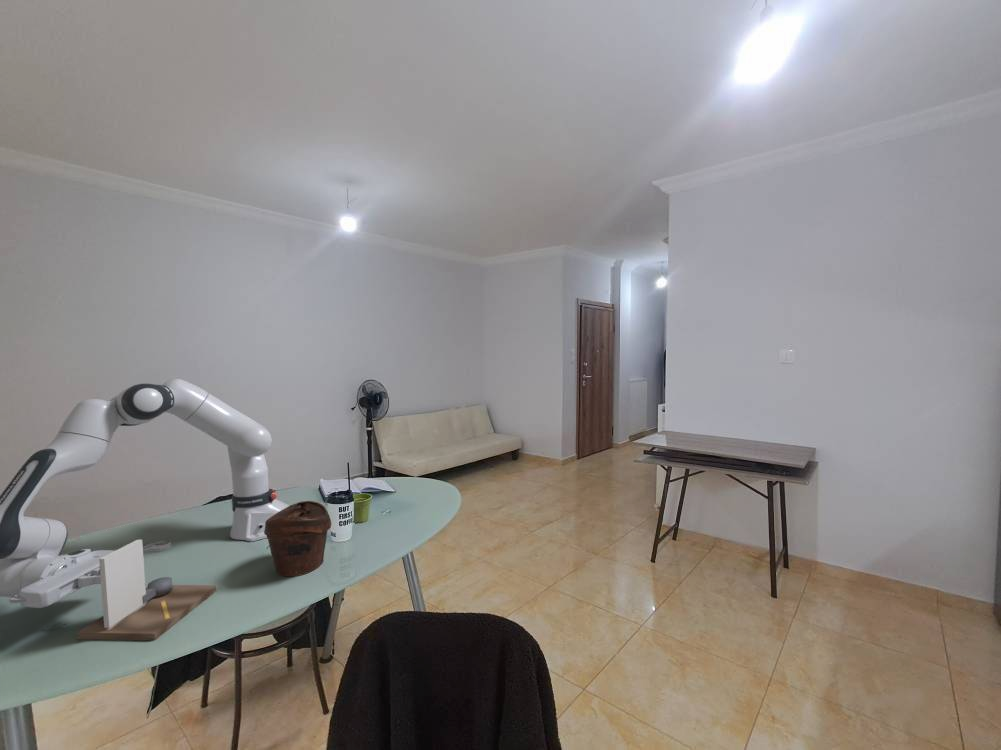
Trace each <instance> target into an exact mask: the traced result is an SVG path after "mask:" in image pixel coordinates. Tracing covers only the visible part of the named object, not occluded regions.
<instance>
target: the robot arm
mask: <svg viewBox="0 0 1001 750" xmlns="http://www.w3.org/2000/svg"><path fill="white" fill-rule="evenodd" d="M164 413H168V414H171V415H174V416H176V417H177V418H179V419H180V420H182V421H184V422H186V423H187V424H189V425H191V426H192V427H194V428H196V429H197V430H199V431H201V432H203V433H204V434H206V435H208V436H210V437H211V438H213V439H215V441H216V440H217V441H218V442H220V443H222V444H223V445H225V446H226V447H227V453H228V458H229V459H228V460H229V465H230V468H231V469H230V470H231V481H232V494H231V500H230V501H231V510H232V512H233V513H232V514H233V515H232V524H231V528H230V533H229V537H230V538H231V539H233V540H239V541H240V540H242V541H246V542H255V541H259V540H264V539H267V535H265V534H264V531H265V523H266V520H268V519H269V518H270V517H272V516H273V515H275V514H276V513H278V512H279V511H281V510H283V509H285V508H287V507H289V506H290V504H287V503H286V502H283V501H282V500H279V498H278V494H277V492H276V490H275V489H274V488H269V487H270V485H269V484H270V483H269V481H270V480H269V468H268V467H269V466H268V464H267V461H266V456H265V453H267V452H268V451H269V450H270V448H271V446H272V444H273V442H272V440H273V439H272V435H271V433H270V431H269V430H268V429H267V428H266V427H265V426H264V425H262V424H261V423H259V422H257V421H255V420H254V419H252V418H250V417H248V416H247V415H246V414H244V413H242V412H241V411H239V410H237V409H236V408H234V407H232V406H230V405H229V404H227V403H225V402H224V401H222V400H221V399H219V398H218V397H216V396H215V395H213V394H212V393H210V392H208V391H206V390H205V389H203V388H201V387H199V386H198V385H195V384H194V383H191V382H189V381H186V380H185V379H181V378H173V379H169V380H167V381H166V382H164V383H163V384H155V383H154V384H153V383H139V384H135V385H132V386H130V387H128V388H126V389H123V390H122V391H120V392H119V394H117V395H116V396H114V397H113V398H112V399H110V400H105V399H100V398H87V399H83V400H81V401H80V402H78V403H76V405H75V407H73V409H72V410H71V411H70V413H69V414H68V415H67V416H66V418H65V420H64V421H63V423H62V425H61V426H60V429H59V431H58V432H57V433H56V436H55V437H54V439H53V440H52V441H51V443H50V444H48V445H47V446H46V447H45V448H43V449H40V450H38V451H36V452H34V453H33V454H32V455H31V456H29V458H28V459H27V460H26V461H25V462H24V464H23V465H22V466H21V467H20V468H19V470H18V471H17V472H16V474H15V475H14V477H13V478H12V479H11V480H10V481H9V484H7V486H6V487H5V489H4V490H3V491H2V493H1V494H0V597H1V598H2V597H4V598H9V600H8V601H9V603H10V604H20V605H21V606H22V607H26V608H33V609H34V608H35V609H43V608H45V607H46V608H47V607H49V606H51V605H52V604H55V603H56V602H59V601H60V600H62V599H63V598H65V597H67V596H69V595H71V594H73V593H75V592H76V591H78V590H80V589H82V588H85V587H89V586H93V585H101V578H100V564H99V559H100V558H102V557H104V556H106V555H108V554H110V553H112V552H114V551H115V550H109V549H107V550H105V549H99V550H93V551H92V549H90V548H83V549H80V550H77V551H73V552H69V553H67V554H62V551H63V550H64V548H65V546H66V542H67V540H68V535H69V531H68V528H67V526H66V524H65V523H64V522H63V521H62V520H60V519H53V518H46V517H34V516H33V517H32V516H25V515H24V514H25V512H26V510H27V508H29V506H30V504H31V503H32V502H33V500H34V498H35V497H36V496H37V494H38V493H39V491H40V490H41V488H42V487H43V485H44V484H46V482H47V481H48V480H50V479H52V478H54V477H56V476H58V475H61V474H67V473H72V472H73V473H74V472H79V471H83V470H86V469H88V468H91V467H93V466H95V465H96V464H98V463H99V462H100V460H101V459H102V458H103V457H104V455H105V453H106V452H107V449H108V447H109V445H110V443H111V440H112V438H113V436H114V434H115V432H116V431H117V429H118V428H119V427H122V426H123V427H132V426H139V425H142V424H147V423H148V422H151V421H153V420H154V419H156V418H157V417H160V416H161V415H162V414H164ZM277 498H278V499H277ZM61 554H62V555H61Z"/></svg>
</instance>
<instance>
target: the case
mask: <svg viewBox="0 0 1001 750" xmlns="http://www.w3.org/2000/svg"><path fill="white" fill-rule="evenodd" d="M331 528H332V519H331V517H330V514H329V513H328V510H327V508H326V507H325V505H323V504H322V503H320V502H317V501H313V500H305V501H299V502H295V503H294V504H290V505H289V507H287V508H285V509H283V510H281V511H279V512H278V513H276V514H275V515H273V516H272V517H270V518H269V519H268V520H266V523H265V531H264V534H265V535H267V538H266V539H267V541H268V546H267V547H266V549H268V548H269V549H270V554H271V557H272V561H273V563H274V567H275V571H276V573H277V574H278V575H279V576H283V577H297V576H301V575H305V574H306V575H307V574H308V573H310V572H313V571H314V570H316V569H319V567H320V566H321V565H322V564H323V563H324V556H325V549H326V543H327V536H328V531H329V530H330V529H331Z"/></svg>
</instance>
